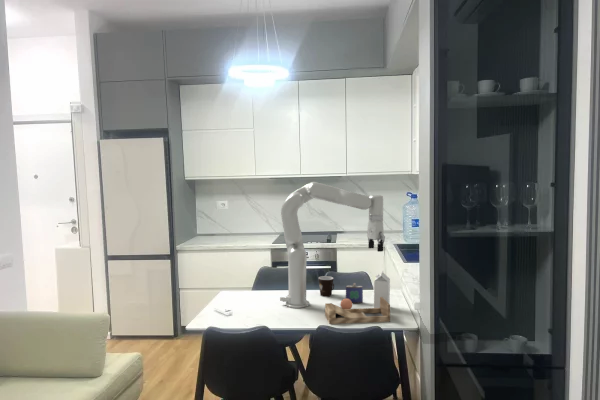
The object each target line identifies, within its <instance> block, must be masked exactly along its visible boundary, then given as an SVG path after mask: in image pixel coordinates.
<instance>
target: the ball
mask: <svg viewBox="0 0 600 400" xmlns="http://www.w3.org/2000/svg"><path fill="white" fill-rule="evenodd" d="M352 307H353V303H352V302H351V300H350V299H347V298H346V297H345V298H343V299H342V300H341V301H340V308H343V309H353V308H352Z"/></svg>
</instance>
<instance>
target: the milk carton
mask: <svg viewBox="0 0 600 400" xmlns="http://www.w3.org/2000/svg"><path fill="white" fill-rule="evenodd" d="M390 283H391V278H390V277H388V276H387V275H386V274H385V273H384V270H382V272H381V273H380V274H379V273H378V274H376V275H375V279H374V281H373V286H374V287H373V308H380V297H383V298H384V299H385V300H386V301H387V302H388V303H389V304H390V299H391V298H390V297H391V296H390V293H391V292H390V291H391V290H390V287H391V284H390ZM390 305H391V304H390Z"/></svg>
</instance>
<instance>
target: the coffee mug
mask: <svg viewBox="0 0 600 400" xmlns="http://www.w3.org/2000/svg"><path fill="white" fill-rule="evenodd" d="M318 285H319V286H318V287H319V295H320V296H321V297H324V298H326V297H331V296H332V295H333V291H334V289H335V284H334V277H332V276H329V275H328V276H327V275H324V276H323V275H322V276H318Z"/></svg>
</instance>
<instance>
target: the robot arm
mask: <svg viewBox="0 0 600 400" xmlns="http://www.w3.org/2000/svg"><path fill="white" fill-rule="evenodd" d="M313 199H317V200H320V201H325V202H328V203H333V204H335V205H343V206H347V207H351V208H355V209H359V210H363V211H365V210H368V222H367V232H366V233H367V235H366V236H367V241H368V242H367V243H368V246H367V247H368V249H374V248H375V241H376V242H377V245H376V246H377V248H376V249H377V252H380V253H381V252H384V244H385V239H386V236H385V233H384V231H385V229H384V197H383V195H381V194H371V195H370V194H369V195H367V194H361V193H357V192H353V191H349V190H346V189H343V188H340V187H337V186H334V185H329V184H325V183H320V182H317V181H311V182H309V183H307V184H305V185H304V186H301V187H300V188H298V189H296V190H295V191H293V192H291V193H289V194H288V197H287V198H286V199H285V200H284V202H283V203H282V206H281V209H280V216H281V222H282V229H283V236H284V237H283V238H284V241H285V245H286V246H285V247H286V251H287V257H288V258H287V259H288V260H287V262H288V268H287V269H288V270H287V271H288V272H287V274H288V295H287V296H285V297H282V296H281V297H279V302H284V303H285V306H287V307H289V308H292V309H302V308H306V307H309V305H310V301H309V300H307V258H308V257H307V256H308V255H307V252H306V249H305V245H304V239H303V235H302V229H301V228H300V227H301V226H300V223H299V217H298V210H299V209H301V208H302V207H303V206H304V204H305V203H308V202H309V201H312V200H313Z"/></svg>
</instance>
